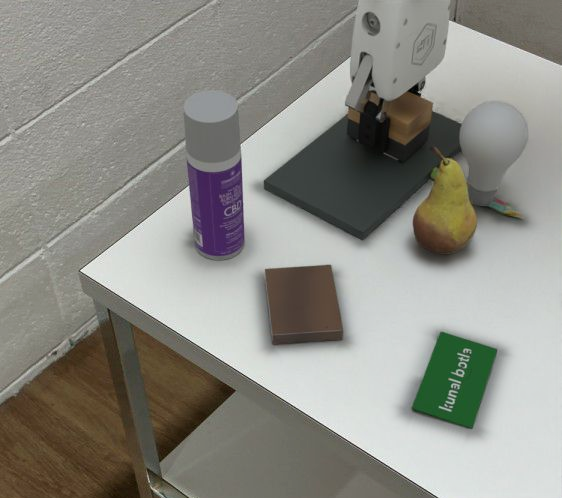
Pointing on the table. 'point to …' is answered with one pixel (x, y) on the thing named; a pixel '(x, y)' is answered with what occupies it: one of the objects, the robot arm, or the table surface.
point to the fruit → (445, 211)
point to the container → (215, 173)
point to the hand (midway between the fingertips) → (387, 133)
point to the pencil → (493, 202)
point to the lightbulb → (491, 146)
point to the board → (359, 176)
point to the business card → (455, 380)
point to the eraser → (400, 123)
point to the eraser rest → (303, 304)
